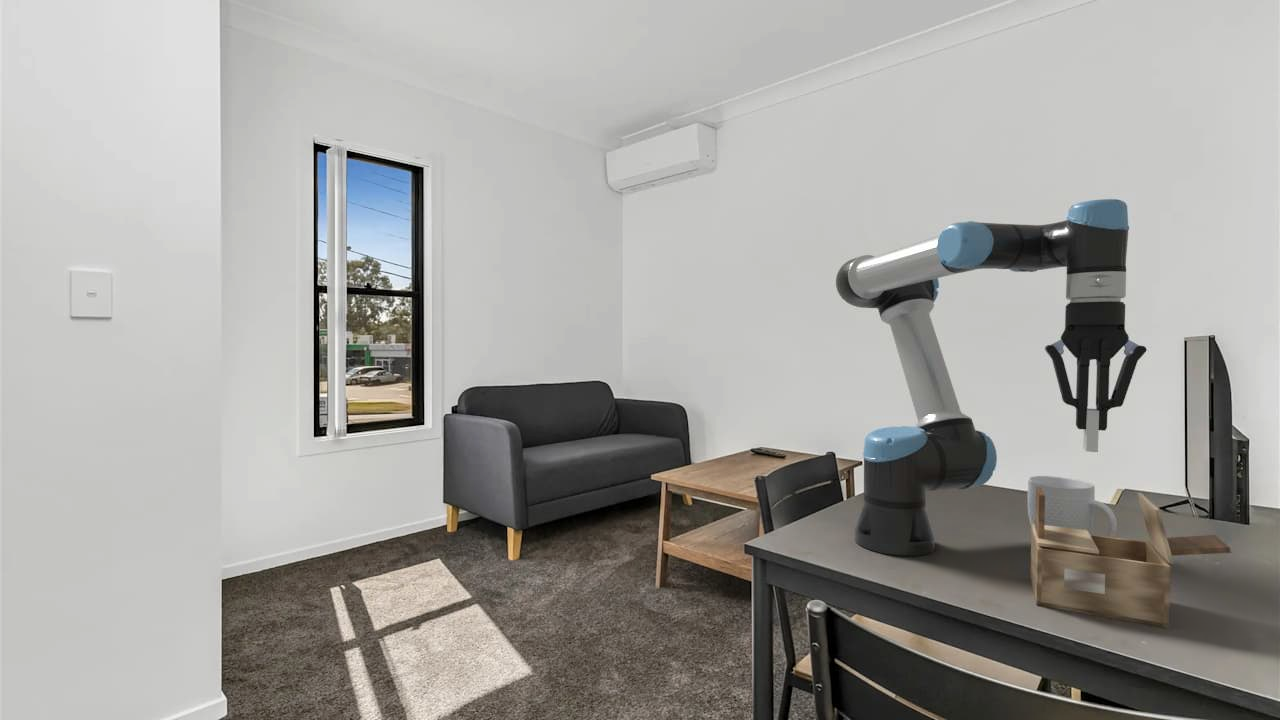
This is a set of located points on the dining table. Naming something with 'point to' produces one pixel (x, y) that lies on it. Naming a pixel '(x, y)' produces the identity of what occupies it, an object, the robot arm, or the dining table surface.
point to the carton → (1104, 580)
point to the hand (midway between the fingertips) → (1090, 450)
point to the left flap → (1059, 532)
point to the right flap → (1176, 544)
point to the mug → (1067, 503)
